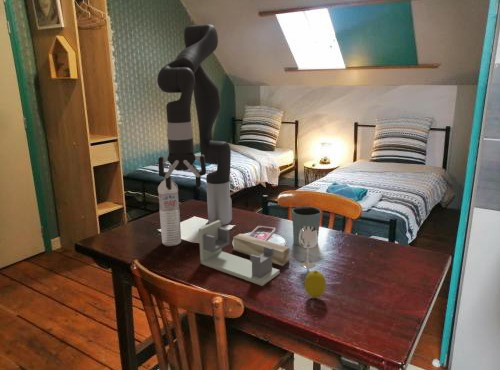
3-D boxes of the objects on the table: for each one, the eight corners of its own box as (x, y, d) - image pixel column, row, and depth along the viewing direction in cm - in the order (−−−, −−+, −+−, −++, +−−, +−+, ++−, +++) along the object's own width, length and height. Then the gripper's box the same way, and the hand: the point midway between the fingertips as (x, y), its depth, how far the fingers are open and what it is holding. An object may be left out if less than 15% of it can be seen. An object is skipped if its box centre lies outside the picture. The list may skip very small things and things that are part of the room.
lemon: (302, 293, 108) (302, 266, 105) (322, 292, 108) (323, 265, 106) (306, 304, 102) (307, 276, 100) (327, 303, 103) (329, 275, 101)
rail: (240, 246, 138) (240, 233, 137) (289, 261, 127) (289, 247, 125) (233, 250, 135) (233, 237, 134) (282, 266, 123) (282, 251, 122)
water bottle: (183, 239, 145) (179, 173, 138) (178, 247, 138) (173, 177, 132) (165, 238, 145) (160, 173, 139) (159, 246, 139) (153, 177, 132)
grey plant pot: (287, 245, 138) (288, 213, 135) (295, 235, 147) (296, 204, 144) (316, 249, 134) (317, 216, 131) (322, 238, 143) (323, 207, 140)
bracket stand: (219, 253, 132) (218, 220, 129) (279, 273, 118) (279, 236, 115) (200, 263, 125) (198, 228, 122) (262, 286, 112) (262, 246, 108)
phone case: (263, 245, 139) (275, 231, 153) (263, 242, 139) (276, 227, 152) (243, 243, 142) (258, 228, 155) (243, 239, 141) (258, 225, 155)
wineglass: (318, 261, 126) (319, 226, 122) (315, 270, 120) (316, 233, 117) (300, 259, 127) (301, 224, 124) (296, 267, 122) (297, 231, 119)
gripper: (204, 134, 122) (207, 184, 127) (158, 135, 122) (162, 186, 126) (203, 138, 115) (205, 191, 119) (154, 139, 114) (158, 193, 119)
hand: (183, 188), depth 123 cm, fingers open, 8 cm apart
